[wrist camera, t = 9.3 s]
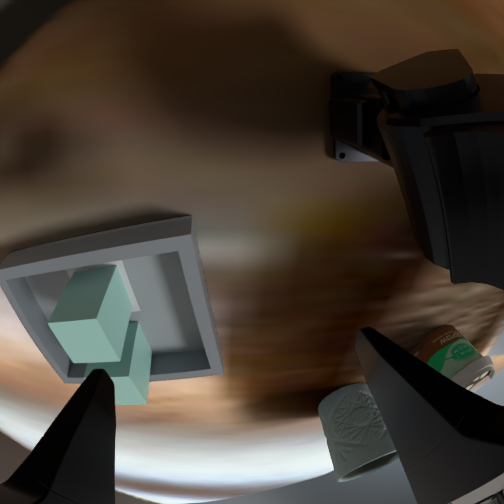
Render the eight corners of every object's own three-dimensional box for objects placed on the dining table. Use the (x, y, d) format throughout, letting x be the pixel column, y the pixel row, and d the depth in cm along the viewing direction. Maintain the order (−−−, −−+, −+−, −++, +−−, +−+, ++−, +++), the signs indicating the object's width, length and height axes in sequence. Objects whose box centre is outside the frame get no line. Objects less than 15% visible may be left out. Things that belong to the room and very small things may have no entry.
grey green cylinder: (348, 374, 34) (383, 452, 23) (388, 382, 38) (421, 445, 27) (299, 414, 37) (321, 486, 27) (343, 418, 41) (366, 477, 31)
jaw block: (116, 265, 21) (96, 318, 15) (132, 305, 23) (120, 361, 17) (74, 272, 20) (47, 323, 15) (91, 310, 22) (73, 363, 17)
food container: (469, 305, 32) (509, 351, 24) (460, 332, 36) (494, 376, 27) (402, 341, 32) (440, 400, 24) (397, 366, 36) (428, 420, 27)
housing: (192, 215, 20) (189, 265, 15) (221, 349, 27) (228, 405, 22) (9, 252, 19) (-28, 297, 13) (71, 362, 26) (57, 410, 20)
